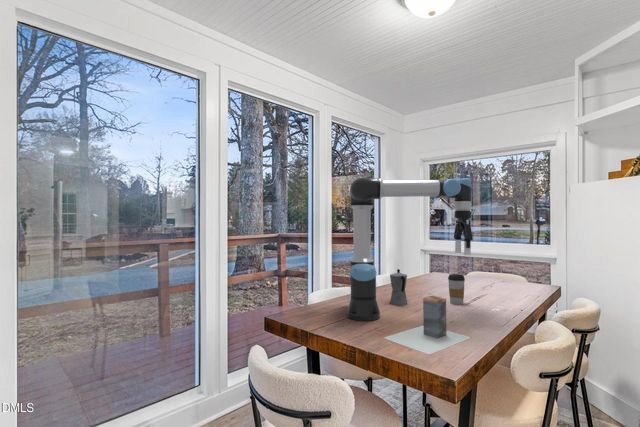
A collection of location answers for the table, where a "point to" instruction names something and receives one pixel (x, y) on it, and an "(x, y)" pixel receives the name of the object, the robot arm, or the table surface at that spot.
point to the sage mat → (425, 340)
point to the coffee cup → (456, 288)
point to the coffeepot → (398, 288)
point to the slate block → (434, 316)
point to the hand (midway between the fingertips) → (462, 253)
